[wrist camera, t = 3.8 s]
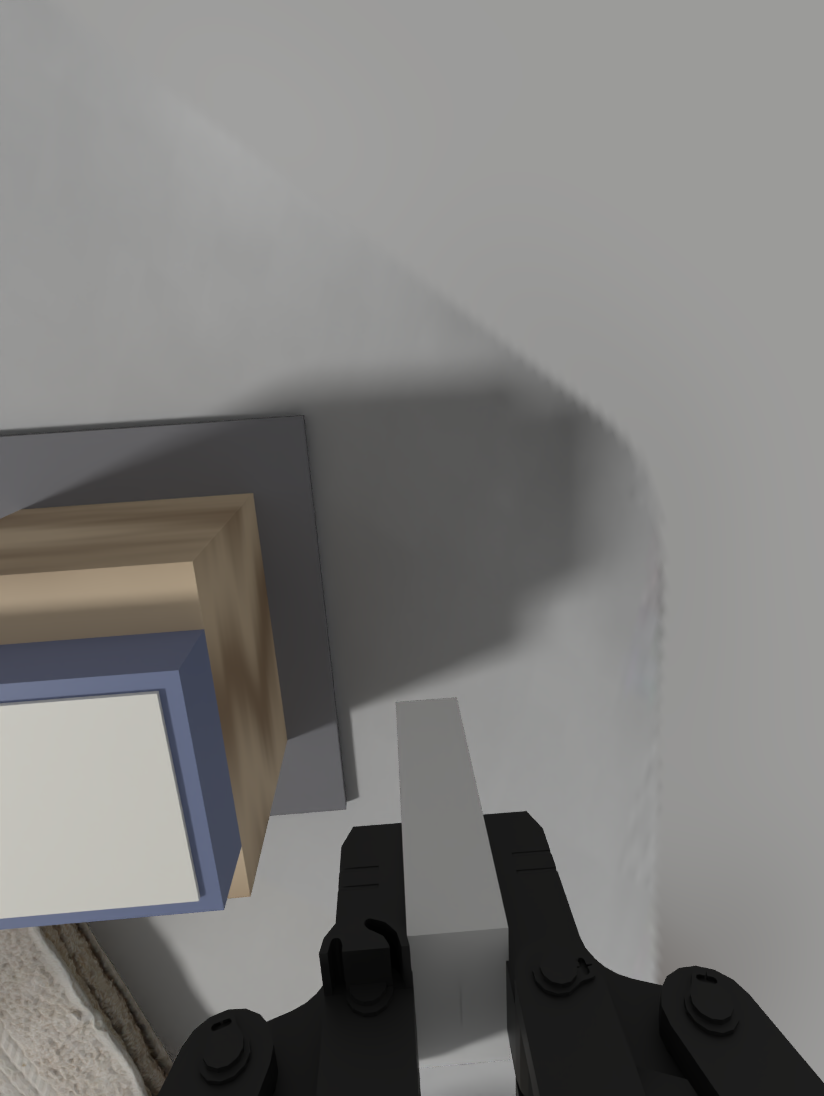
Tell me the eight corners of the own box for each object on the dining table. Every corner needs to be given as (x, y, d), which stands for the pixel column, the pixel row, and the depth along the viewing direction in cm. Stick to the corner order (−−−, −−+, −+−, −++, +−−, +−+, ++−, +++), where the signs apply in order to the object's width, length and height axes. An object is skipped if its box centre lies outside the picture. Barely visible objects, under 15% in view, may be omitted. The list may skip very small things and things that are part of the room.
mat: (346, 802, 27) (346, 809, 26) (-242, 852, 26) (-251, 860, 26) (303, 415, 22) (302, 416, 22) (-416, 463, 21) (-431, 466, 21)
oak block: (288, 734, 26) (250, 896, 18) (87, 750, 25) (-38, 921, 18) (255, 490, 23) (192, 561, 15) (27, 506, 23) (-154, 586, 15)
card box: (241, 846, 18) (223, 913, 15) (-93, 874, 17) (-158, 947, 15) (204, 629, 16) (177, 673, 14) (-173, 657, 15) (-261, 707, 13)
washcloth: (9, 1178, 33) (-27, 1259, 30) (-198, 927, 28) (-266, 995, 25) (222, 1115, 33) (207, 1191, 30) (52, 847, 27) (13, 906, 24)
